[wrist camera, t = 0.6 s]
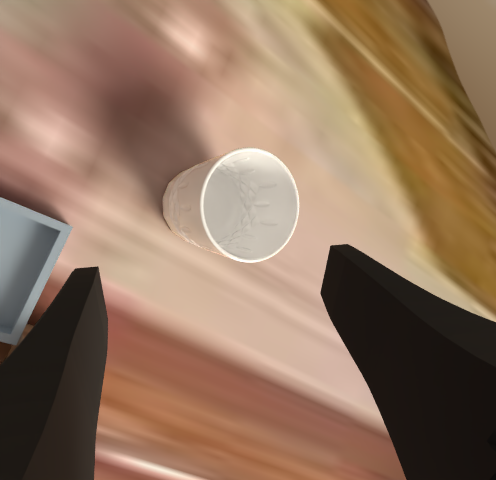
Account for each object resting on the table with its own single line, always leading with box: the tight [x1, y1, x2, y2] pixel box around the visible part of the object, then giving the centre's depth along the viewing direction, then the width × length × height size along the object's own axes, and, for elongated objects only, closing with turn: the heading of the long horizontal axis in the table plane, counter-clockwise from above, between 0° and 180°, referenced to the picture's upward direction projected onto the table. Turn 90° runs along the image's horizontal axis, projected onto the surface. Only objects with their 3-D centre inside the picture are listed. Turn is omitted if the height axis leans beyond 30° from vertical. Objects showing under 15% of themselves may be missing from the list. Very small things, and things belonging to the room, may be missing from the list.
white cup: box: [162, 147, 299, 262], centre depth 31 cm, size 8×8×10 cm
